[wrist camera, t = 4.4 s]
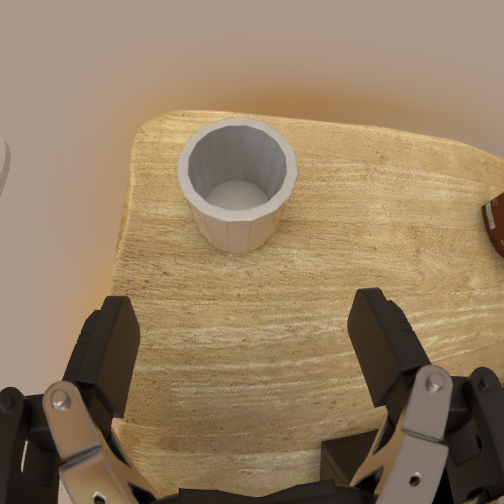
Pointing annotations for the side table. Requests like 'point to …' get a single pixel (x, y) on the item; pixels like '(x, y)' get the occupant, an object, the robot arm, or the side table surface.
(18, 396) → the robot arm
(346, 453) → the black square box
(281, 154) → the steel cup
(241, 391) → the side table surface
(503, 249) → the food container
